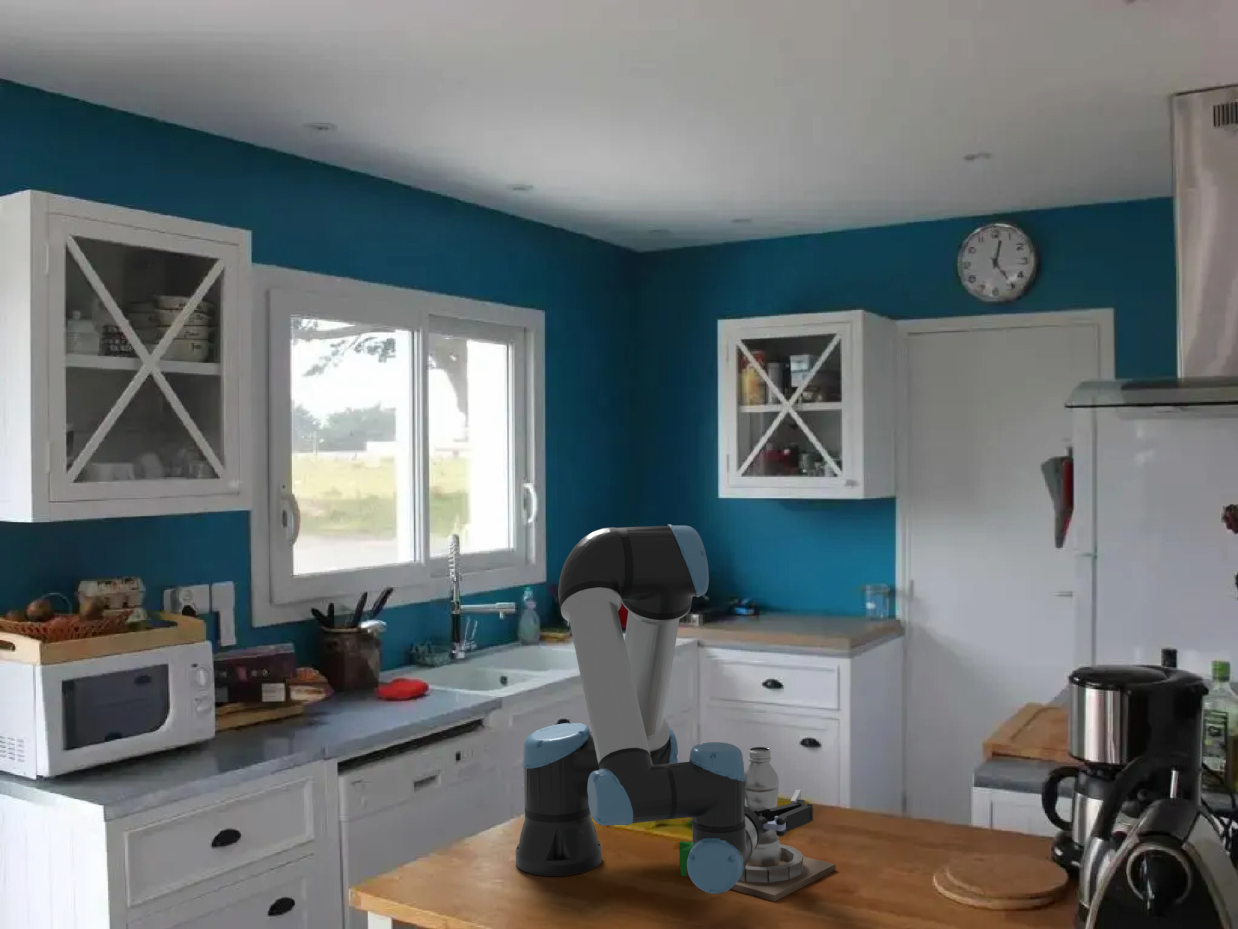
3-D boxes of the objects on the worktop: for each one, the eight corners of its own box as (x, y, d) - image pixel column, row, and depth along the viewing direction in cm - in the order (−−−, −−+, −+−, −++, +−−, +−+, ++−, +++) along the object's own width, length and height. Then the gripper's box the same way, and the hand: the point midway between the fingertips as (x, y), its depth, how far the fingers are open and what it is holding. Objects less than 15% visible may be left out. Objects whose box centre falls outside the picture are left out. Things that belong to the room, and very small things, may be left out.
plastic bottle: (787, 864, 205) (785, 747, 204) (771, 877, 199) (769, 756, 198) (753, 858, 208) (750, 743, 208) (736, 871, 202) (733, 752, 202)
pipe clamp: (708, 856, 214) (708, 830, 214) (725, 860, 211) (725, 834, 211) (668, 873, 205) (668, 846, 205) (685, 877, 203) (685, 850, 203)
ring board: (685, 876, 203) (685, 858, 203) (748, 848, 216) (748, 831, 216) (774, 901, 191) (774, 882, 191) (835, 870, 204) (835, 852, 204)
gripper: (652, 854, 183) (684, 813, 204) (817, 867, 176) (834, 823, 196) (651, 805, 183) (683, 769, 203) (816, 815, 176) (833, 777, 196)
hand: (757, 795), depth 200 cm, fingers open, 13 cm apart
